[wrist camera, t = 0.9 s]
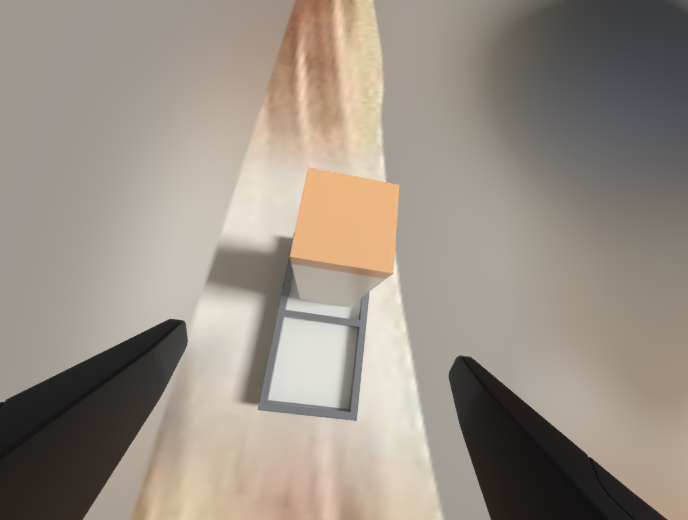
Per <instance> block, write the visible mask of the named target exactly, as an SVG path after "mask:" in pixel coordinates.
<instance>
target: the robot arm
mask: <svg viewBox="0 0 688 520" xmlns="http://www.w3.org/2000/svg"><path fill="white" fill-rule="evenodd" d="M187 342H188V338H187V330H186V323H185V322H184V321H183V320H176V319H169V320H167V321H165V322H163V323H161V324H159V325H156V326H155V327H152V328H150V329H148V330H147V331H144V332H142V333H140V334H138V335H136V336H134V337H133V338H130V339H128V340H127V341H124V342H122V343H120V344H118V345H116V346H114V347H112V348H110V349H108V350H106V351H104V352H102V353H100V354H98V355H96V356H94V357H92V358H90V359H88V360H86V361H84V362H82V363H80V364H77V365H75V366H73V367H71V368H70V369H67V370H65V371H64V372H61V373H59V374H57V375H55V376H53V377H51V378H49V379H47V380H46V381H43V382H41V383H39V384H37V385H35V386H33V387H31V388H29V389H27V390H25V391H23V392H21V393H19V394H17V395H15V396H13V397H11V398H9V399H7V400H6V401H5V402H0V520H83V518H84V517H85V515H86V514H87V512H88V511H89V509H90V507H91V505H92V504H93V502H94V501H95V499H96V498H97V496H98V495H99V493H100V492H101V490H102V489H103V487H104V485H105V484H106V482H107V480H108V479H109V477H110V476H111V474H112V473H113V471H114V470H115V468H116V467H117V465H118V463H119V462H120V460H121V458H122V457H123V456H124V454H125V452H126V451H127V449H128V448H129V446H130V445H131V443H132V441H133V440H134V438H135V437H136V435H137V434H138V432H139V430H140V429H141V427H142V426H143V424H144V423H145V421H146V420H147V418H148V416H149V415H150V413H151V412H152V410H153V408H154V407H155V405H156V404H157V402H158V401H159V399H160V397H161V395H162V394H163V392H164V390H165V388H166V386H167V384H168V382H169V380H170V378H171V376H172V374H173V372H174V370H175V368H176V366H177V365H178V363H179V361H180V359H181V357H182V355H183V353H184V351H185V349H186V346H187ZM449 381H450V385H451V390H452V394H453V398H454V403H455V407H456V411H457V416H458V420H459V424H460V427H461V430H462V434H463V437H464V439H465V443H466V446H467V448H468V452H469V455H470V457H471V461H472V464H473V467H474V470H475V473H476V476H477V479H478V482H479V485H480V488H481V491H482V494H483V497H484V500H485V503H486V506H487V509H488V512H489V515H490V518H491V520H667V519H666V518H665V517H664V516H662V515H661V514H660V513H658V512H657V511H656V510H655V509H653V508H652V507H651V506H650V505H648V504H647V503H646V502H644V501H643V500H642V499H641V498H639V497H638V496H637V495H635V494H634V493H633V492H632V491H631V490H629V489H628V488H627V487H626V486H624V485H623V484H622V483H621V482H620V481H618V480H617V479H616V478H615V477H614V476H612V475H611V474H610V473H609V472H607V471H606V470H605V469H604V468H603V467H602V466H600V465H599V464H598V463H597V462H596V461H594V460H593V459H592V458H591V457H588V455H587V454H586V453H585V452H584V451H582V450H581V449H580V448H579V447H578V446H576V445H575V444H574V443H573V442H572V441H570V440H569V439H568V438H567V437H566V436H564V435H563V434H562V433H561V432H560V431H559V430H557V429H556V428H555V427H554V426H552V425H551V424H550V423H549V422H548V421H547V420H545V419H544V418H543V417H542V416H541V415H539V414H538V413H537V412H536V411H535V410H534V409H532V408H531V407H530V406H529V405H528V404H526V403H525V402H524V401H523V400H521V399H520V398H519V397H518V396H517V395H516V394H514V393H513V392H512V391H511V390H510V389H508V388H507V387H506V386H505V385H504V384H503V383H501V382H500V381H499V380H498V379H497V378H495V377H494V376H493V375H492V374H490V373H489V372H488V371H487V370H486V369H485V368H483V367H482V366H481V365H480V364H479V363H477V362H476V361H475V360H474V359H473V358H471V357H467V356H458V357H457V358H456V360H455V362H454V364H453V366H452V367H451V370H450V372H449Z"/></svg>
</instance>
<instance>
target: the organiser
mask: <svg viewBox="0 0 688 520" xmlns="http://www.w3.org/2000/svg"><path fill="white" fill-rule="evenodd" d="M294 233H295V232H294ZM293 238H294V235H293ZM292 243H293V240H292ZM291 248H292V245H291ZM290 253H291V250H290ZM368 301H369V292H368V293H366V294H365V295H364V296H362V297H361V298H360V299H358V300H357V301H356V302H354V303H353V304H352V305H350V306H349V307H344V306H337V305H330V304H323V303H316V302H310V301H303V300H300V297H299V293H298V288H297V284H296V280H295V276H294V272H293V268H292V264H291V260H290V255H289V260H288V265H287V270H286V274H285V279H284V284H283V289H282V294H281V299H280V304H279V308H278V313H277V318H276V323H275V328H274V333H273V338H272V343H271V347H270V352H269V357H268V362H267V367H266V372H265V377H264V382H263V386H262V391H261V396H260V401H259V406H258V410H262V411H271V412H280V413H290V414H299V415H308V416H317V417H327V418H336V419H345V420H354V421H357V412H358V402H359V392H360V382H361V372H362V362H363V352H364V341H365V331H366V321H367V311H368Z"/></svg>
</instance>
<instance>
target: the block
mask: <svg viewBox="0 0 688 520" xmlns="http://www.w3.org/2000/svg"><path fill="white" fill-rule="evenodd" d="M399 186H400V185H397V184H392V183H387V182H381V181H376V180H371V179H366V178H361V177H355V176H350V175H345V174H340V173H335V172H330V171H324V170H319V169H314V168H309V167H308V170H307V175H306V180H305V185H304V189H303V194H302V199H301V204H300V209H299V214H298V219H297V224H296V229H295V233H294V238H293V243H292V248H291V253H290V260H291V264H292V268H293V272H294V276H295V280H296V284H297V288H298V293H299V297H300V300H303V301H310V302H316V303H323V304H330V305H337V306H344V307H349V306H350V305H352V304H353V303H354V302H356V301H357V300H358V299H360V298H361V297H362V296H364V295H365V294H366V293H368V292H369V291H370V290H372V289H373V288H374V287H376V286H377V285H378V284H380V283H381V282H382V281H384V280H385V279H386V278H388V277H389V276H390V275H392V274H393V269H394V255H395V240H396V226H397V213H398V199H399Z"/></svg>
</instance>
